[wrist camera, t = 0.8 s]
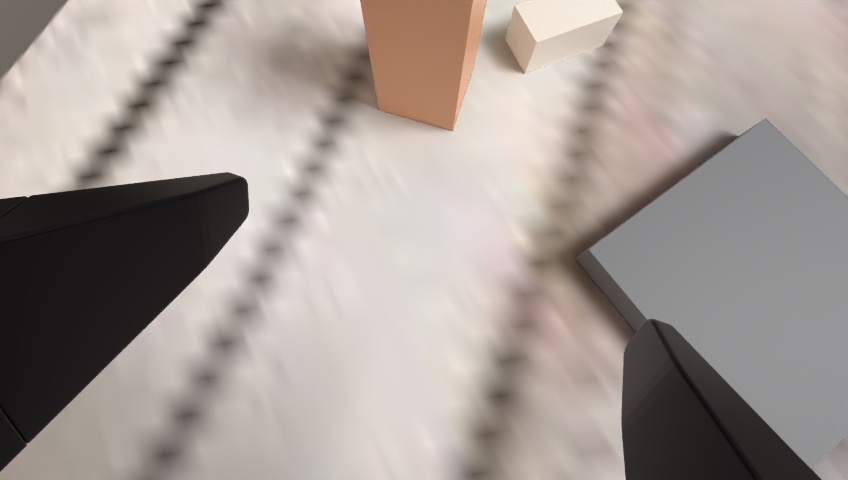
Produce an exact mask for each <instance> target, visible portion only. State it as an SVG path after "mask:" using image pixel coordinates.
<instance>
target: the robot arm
mask: <svg viewBox="0 0 848 480" xmlns="http://www.w3.org/2000/svg"><path fill="white" fill-rule="evenodd" d="M248 213H249V198H248V183H247V181H246V179H245V178H243V177H241V176H238V175H235V174H232V173H228V172H226V173H217V174H209V175H200V176H192V177H183V178H175V179H167V180H158V181H150V182H141V183H133V184H124V185H116V186H108V187H99V188H91V189H82V190H74V191H65V192H57V193H49V194H40V195H32V196H30V197H26V196H23V197H14V198H6V199H0V472H1V471H2V470H3V469H4V468H5V467H6V466H7V465H8V464H9V463H10V462H11V461H12V460H13V459H14V458H15V457H16V456H17V455H18V454H19V453H20V452H21V451H22V450H23V449H24V448H25V447H26V446H27V443H29V442H30V441H31V440H32V439H34V438H35V437H36V436H37V435H38V434H39V433H40V432H41V431H42V430H43V429H44V428H45V427H46V426H47V425H48V424H49V423H50V422H51V421H52V420H53V419H54V418H55V417H56V416H57V415H58V414H59V413H60V412H61V411H62V410H63V409H64V408H65V407H66V406H67V405H68V404H69V403H70V402H71V401H72V400H73V399H74V398H75V397H76V396H77V395H78V394H79V393H80V392H81V391H82V390H83V389H84V388H85V387H86V386H87V385H88V384H89V383H90V382H91V381H92V380H93V379H94V378H95V377H96V376H97V375H98V374H99V373H100V372H101V371H102V370H103V369H104V368H105V367H106V366H107V365H108V364H109V363H110V362H111V361H112V360H113V359H114V358H115V357H116V356H117V355H118V354H119V353H120V352H121V351H122V350H123V349H125V348H126V347H127V346H128V345H129V344H130V343H131V342H132V341H133V340H134V339H135V338H136V337H137V336H138V335H139V334H140V333H141V332H142V331H143V330H144V329H145V328H146V327H147V326H148V325H149V324H150V323H151V322H152V321H153V320H154V319H155V318H156V317H157V316H158V315H159V314H160V313H161V312H162V311H163V310H164V309H165V308H166V307H167V306H168V305H169V304H170V303H171V302H172V301H173V300H174V299H175V298H176V297H177V296H178V295H179V294H180V293H181V292H182V291H183V290H184V289H185V288H186V287H187V286H188V285H189V284H190V283H191V282H192V281H193V280H194V279H195V278H196V277H197V276H198V275H199V274H200V273H201V272H202V271H203V270H204V269H205V268H206V267H207V266H208V265H209V264H210V262H211V261H212V260H213V259H214V258H215V257H216V255H217V254H218V253H219V252H220V250H221V249H222V248H223V247H224V245H225V244H226V243H227V242H228V241H229V239H230V238H231V237H232V236H233V234H234V233H235V232H236V231H237V230H238V228H239V227H240V226H241V225H242V223H243V222H244V221H245V219H246V218H247V216H248ZM622 439H623V451H624V463H625V476H626V480H821V479H820V478H819V476H818V475H817V474H816V473H815V472H814V471H813V470H812V469H811V468H810V467H809V466H808V465H807V464H806V463H805V462H804V461H803V460H802V459H801V458H800V457H799V456H798V455H797V454H796V453H795V452H794V451H793V450H792V449H791V448H790V447H789V446H788V445H787V443H786V442H785V441H784V440H783V439H782V438H781V437H780V436H779V435H778V434H777V433H776V432H775V431H774V430H773V429H772V428H771V427H770V426H769V425H768V424H767V423H766V422H765V421H764V420H763V419H762V418H761V417H760V416H759V415H758V414H757V413H756V411H755V410H754V409H753V408H752V407H751V406H750V405H749V404H748V403H747V402H746V401H745V400H744V399H743V398H742V397H741V396H740V395H739V394H738V393H737V392H736V391H735V390H734V389H733V388H732V387H731V386H730V385H729V384H728V383H727V382H726V381H725V379H724V378H723V377H722V376H721V375H720V374H719V373H718V372H717V371H716V370H715V369H714V368H713V367H712V366H711V365H710V364H709V363H708V362H707V361H706V360H705V359H704V358H703V357H702V356H701V355H700V354H699V353H698V352H697V351H696V350H695V349H694V347H693V346H692V345H691V344H690V343H689V342H688V341H687V340H686V339H685V338H684V337H683V336H682V335H681V334H680V333H679V332H678V331H677V330H676V329H675V328H674V327H673V326H672V325H670V324H667V323H664V322H662V321H659V320H656V319H648V320H646V321H645V322H644V323H643V324H642V326H641V327H640V328H639V330H638V331H637V332H636V334H635V335H634V336H633V337H632V339H631V340H630V341H629V343H628V344H627V346H626V348H625V352H624V365H623V389H622Z"/></svg>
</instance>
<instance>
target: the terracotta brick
mask: <svg viewBox="0 0 848 480" xmlns="http://www.w3.org/2000/svg"><path fill="white" fill-rule="evenodd" d="M360 2H361V8H362V13H363V19H364V25H365V31H366V37H367V43H368V49H369V55H370V61H371V66H372V72H373V78H374V84H375V90H376V96H377V102H378V108H379V110H381V111H385V112H388V113H392V114H395V115H399V116H402V117H406V118H409V119H413V120H416V121H420V122H424V123H427V124H431V125H434V126H438V127H441V128H445V129H448V130H452V131H453V129H454V126H455V123H456V120H457V117H458V114H459V111H460V108H461V105H462V102H463V99H464V96H465V93H466V90H467V87H468V84H469V81H470V78H471V75H472V71H473V68H474V64H475V59H476V54H477V48H478V43H479V38H480V33H481V28H482V22H483V17H484V12H485V7H486V2H487V0H360Z"/></svg>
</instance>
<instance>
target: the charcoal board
mask: <svg viewBox="0 0 848 480" xmlns="http://www.w3.org/2000/svg"><path fill="white" fill-rule="evenodd" d="M575 259H576V260H577V261H578V262H579V264H580V265H581V266H582V267H583V269H584V270H585V271H586V272H587V273H588V275H589V276H590V277H591V278H592V280H593V281H594V282H595V283H596V284H597V286H598V287H599V288H600V289H601V290H602V292H603V293H604V294H605V295H606V297H607V298H608V299H609V300H610V301H611V303H612V304H613V305H614V306H615V308H616V309H617V310H618V311H619V312H620V314H621V315H622V316H623V317H624V319H625V320H626V321H627V322H628V323H629V325H630V326H631V327H632V328H633V330H634V331H635V332H637V331H638V330H639V328H640V327H641V326H642V324H643V323H644V322H645V321H646V320H648V319H656V320H659V321H662V322H664V323H667V324H670V325H672V326H673V327H674V328H675V329H676V330H677V331H678V332H679V333H680V334H681V335H682V336H683V337H684V338H685V339H686V340H687V341H688V342H689V343H690V344H691V345H692V346H693V347H694V349H695V350H696V351H697V352H698V353H699V354H700V355H701V356H702V357H703V358H704V359H705V360H706V361H707V362H708V363H709V364H710V365H711V366H712V367H713V368H714V369H715V370H716V371H717V372H718V373H719V374H720V375H721V376H722V377H723V378H724V379H725V381H726V382H727V383H728V384H729V385H730V386H731V387H732V388H733V389H734V390H735V391H736V392H737V393H738V394H739V395H740V396H741V397H742V398H743V399H744V400H745V401H746V402H747V403H748V404H749V405H750V406H751V407H752V408H753V409H754V410H755V411H756V413H757V414H758V415H759V416H760V417H761V418H762V419H763V420H764V421H765V422H766V423H767V424H768V425H769V426H770V427H771V428H772V429H773V430H774V431H775V432H776V433H777V434H778V435H779V436H780V437H781V438H782V439H783V440H784V441H785V442H786V443H787V445H788V446H789V447H790V448H791V449H792V450H793V451H794V452H795V453H796V454H797V455H798V456H799V457H800V458H801V459H802V460H803V461H804V462H805V463H806V464H807V465H808V466H809V467H810V468H811V469H813V468H814V467H815V466H816V465H817V464H818V463H819V462H820V461H821V460H822V459H823V458H824V457H825V456H826V455H827V454H828V453H829V452H830V451H831V450H832V449H833V448H834V447H835V446H836V445H837V444H838V443H839V442H840V441H841V440H842V439H843V438H844V437H845V436H846V435H847V434H848V196H847V195H845V194H844V193H843V192H842V191H841V190H840V189H839V188H838V187H837V186H836V185H835V184H834V183H833V182H832V181H831V180H830V179H829V178H828V177H827V176H826V175H825V174H824V173H823V172H822V171H820V170H819V169H818V168H817V167H816V166H815V165H814V164H813V163H812V162H811V161H810V160H809V159H808V158H807V157H806V156H805V155H804V154H803V153H802V152H801V151H800V150H799V149H798V148H796V147H795V146H794V145H793V144H792V143H791V142H790V141H789V140H788V139H787V138H786V137H785V136H784V135H783V134H782V133H781V132H780V131H779V130H778V129H777V128H776V127H775V126H774V125H772V124H771V123H770V122H769V121H768V120H767V119H766V118H765V119H764V120H762V121H761V122H759V123H758V124H756V125H755V126H753V127H752V128H750V129H749V130H747V131H746V132H744V133H743V134H741V135H740V136H738V137H737V138H736V139H734V140H733V141H732V142H730V143H729V144H728V145H726V146H725V147H724V148H722V149H721V150H720V151H718V152H717V153H715V154H714V155H713V156H711V157H710V158H709V159H707V160H706V161H705V162H703V163H702V164H701V165H699V166H698V167H697V168H695V169H694V170H692V171H691V172H690V173H688V174H687V175H686V176H684V177H683V178H682V179H680V180H679V181H678V182H676V183H675V184H674V185H672V186H671V187H670V188H668V189H667V190H665V191H664V192H663V193H661V194H660V195H659V196H657V197H656V198H655V199H653V200H652V201H651V202H649V203H648V204H647V205H645V206H644V207H642V208H641V209H640V210H638V211H637V212H636V213H634V214H633V215H632V216H630V217H629V218H628V219H626V220H625V221H624V222H622V223H621V224H620V225H618V226H617V227H615V228H614V229H613V230H611V231H610V232H609V233H607V234H606V235H605V236H603V237H602V238H601V239H599V240H598V241H597V242H595V243H594V244H592V245H591V246H590V247H588V248H587V249H586V250H584V251H583V252H582V253H580V254H579V255H578V256H576V257H575Z"/></svg>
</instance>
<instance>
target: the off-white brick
mask: <svg viewBox="0 0 848 480" xmlns="http://www.w3.org/2000/svg"><path fill="white" fill-rule="evenodd" d="M622 13H623V11H622V10H621V8H620V7H619V5H618V4H617V2H616V1H615V0H528V1H525V2H523V3H520V4H517V5H515V6H514V9H513V13H512V17H511V20H510V24H509V27H508V31H507V35H506V38H505V40H506V42H507V44H508V45H509V47H510V49H511V51H512V53H513V54H514V56H515V58H516V60H517V61H518V63H519V65H520V67H521V68H522V70H523V72H524V74H526V73H529V72H531V71H534V70H537V69H540V68H542V67H545V66H548V65H551V64H554V63H556V62H559V61H562V60H565V59H567V58H570V57H573V56H576V55H578V54H581V53H584V52H587V51H590V50H592V49H595V48H598V47H601V46H603V44H604V43H605V41H606V39H607V38H608V36H609V34H610V33H611V31H612V30H613V28H614V26H615V25H616V23H617V21H618V20H619V18H620V16H621V15H622Z"/></svg>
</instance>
